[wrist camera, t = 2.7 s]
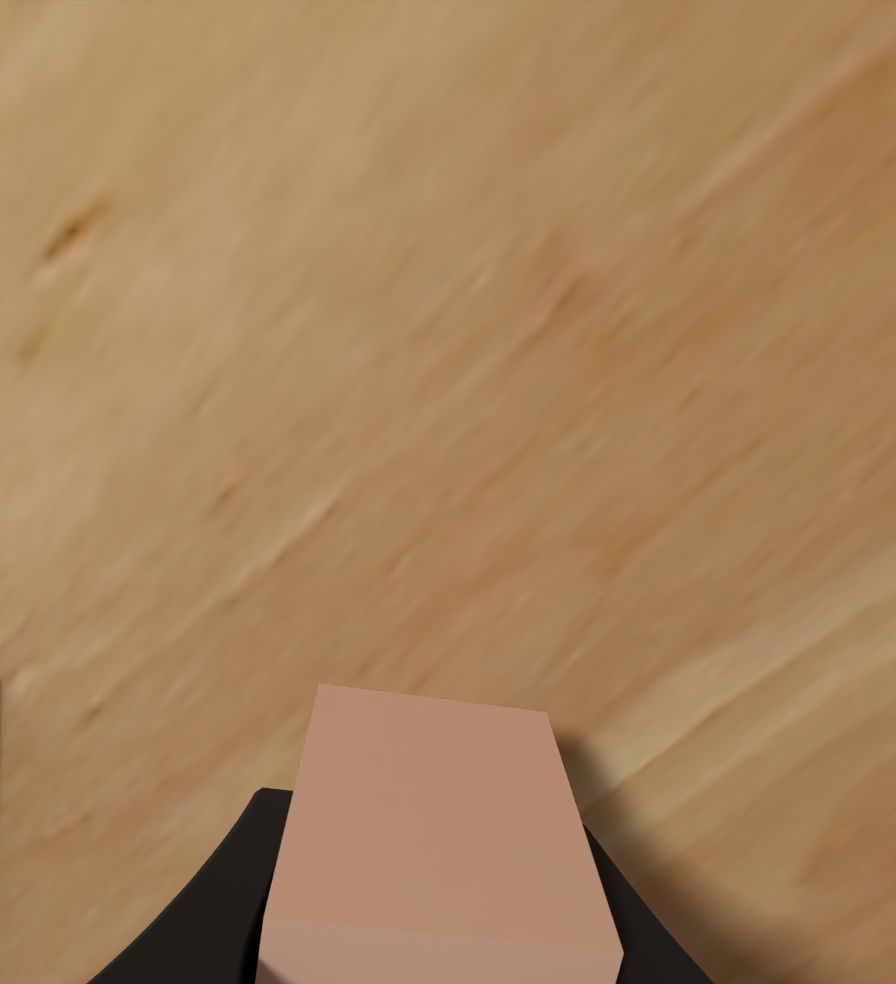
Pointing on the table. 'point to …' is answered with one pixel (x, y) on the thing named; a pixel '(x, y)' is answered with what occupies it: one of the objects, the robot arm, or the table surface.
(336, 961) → the terracotta block
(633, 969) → the robot arm
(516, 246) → the table surface
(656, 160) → the table surface
